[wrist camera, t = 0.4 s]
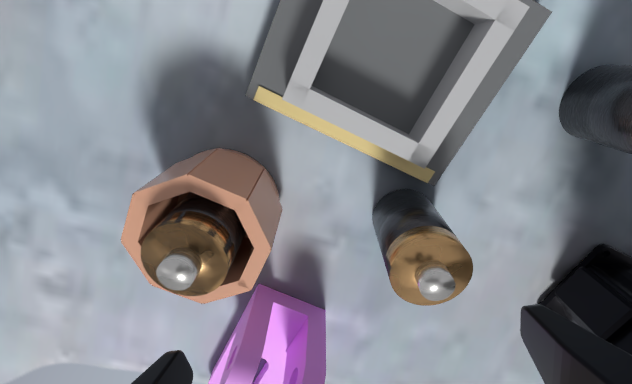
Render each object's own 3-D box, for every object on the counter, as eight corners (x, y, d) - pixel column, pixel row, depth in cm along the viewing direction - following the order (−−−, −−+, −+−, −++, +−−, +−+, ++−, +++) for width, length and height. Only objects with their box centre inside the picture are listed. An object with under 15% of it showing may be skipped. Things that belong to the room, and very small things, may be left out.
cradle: (536, 15, 16) (583, 5, 13) (427, 178, 20) (446, 200, 17) (326, -113, 14) (327, -157, 11) (249, 93, 18) (235, 100, 15)
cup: (296, 177, 20) (287, 216, 15) (257, 259, 22) (238, 317, 17) (190, 129, 19) (143, 154, 14) (161, 221, 21) (112, 271, 16)
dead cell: (264, 192, 20) (234, 258, 13) (241, 241, 21) (205, 322, 15) (202, 165, 19) (139, 220, 12) (184, 218, 20) (119, 292, 14)
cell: (445, 204, 20) (501, 271, 14) (412, 250, 22) (448, 330, 15) (392, 179, 20) (424, 237, 13) (361, 228, 21) (378, 302, 15)
